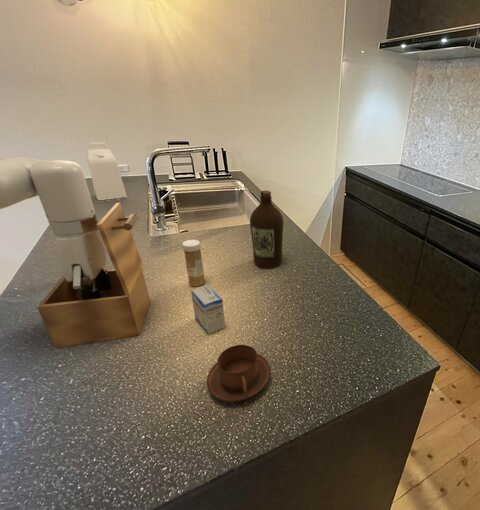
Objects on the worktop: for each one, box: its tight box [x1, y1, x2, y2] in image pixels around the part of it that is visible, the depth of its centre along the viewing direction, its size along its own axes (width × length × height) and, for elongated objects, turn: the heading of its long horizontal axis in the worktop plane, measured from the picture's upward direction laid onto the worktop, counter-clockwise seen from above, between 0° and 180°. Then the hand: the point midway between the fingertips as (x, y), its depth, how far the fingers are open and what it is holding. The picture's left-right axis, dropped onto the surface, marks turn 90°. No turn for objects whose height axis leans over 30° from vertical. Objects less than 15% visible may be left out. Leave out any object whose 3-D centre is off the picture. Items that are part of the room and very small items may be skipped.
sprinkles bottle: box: [181, 239, 206, 287], centre depth 88 cm, size 5×5×14 cm
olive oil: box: [249, 190, 284, 269], centre depth 101 cm, size 11×11×25 cm
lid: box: [97, 202, 144, 295], centre depth 68 cm, size 16×14×4 cm
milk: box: [86, 142, 128, 201], centre depth 149 cm, size 12×12×26 cm
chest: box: [36, 267, 151, 349], centre depth 71 cm, size 16×14×11 cm
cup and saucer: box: [206, 344, 271, 403], centre depth 60 cm, size 12×12×6 cm
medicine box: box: [190, 284, 226, 335], centre depth 74 cm, size 8×4×9 cm, turn 44°
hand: (99, 296), depth 70 cm, fingers open, 5 cm apart
